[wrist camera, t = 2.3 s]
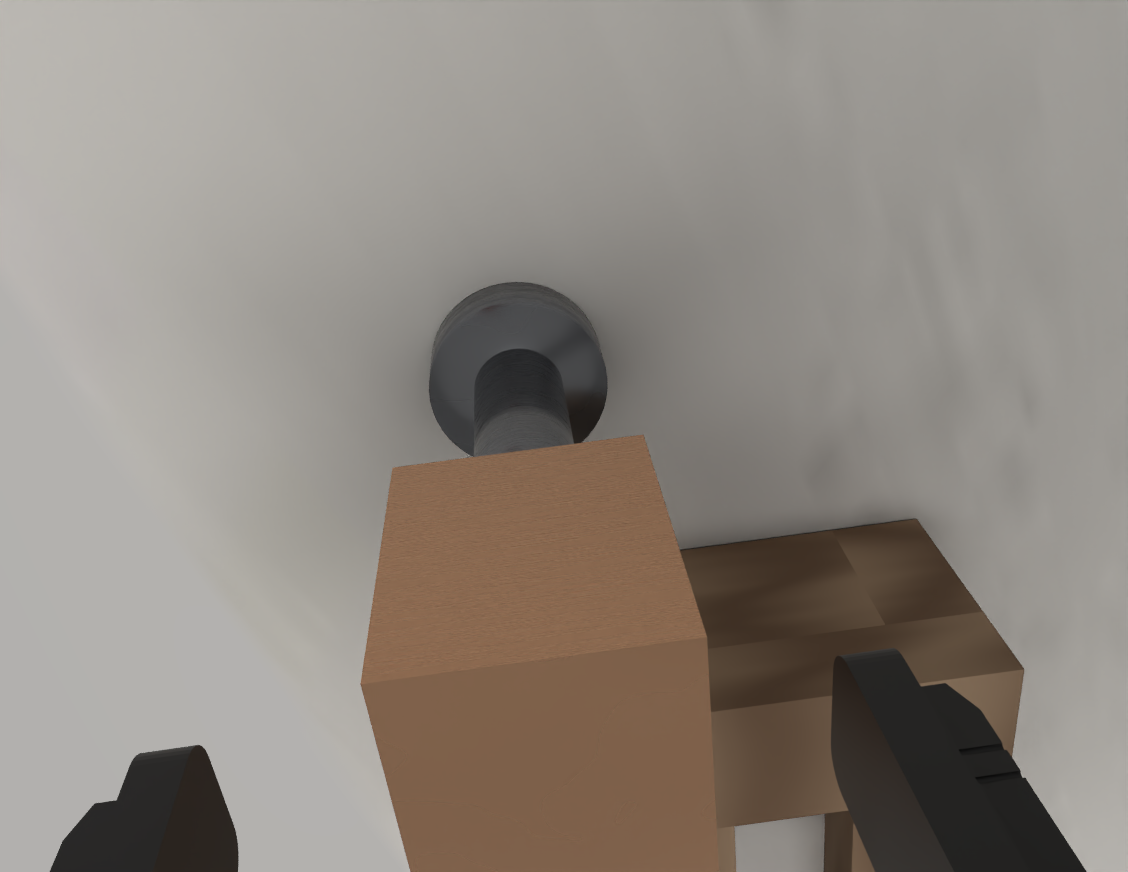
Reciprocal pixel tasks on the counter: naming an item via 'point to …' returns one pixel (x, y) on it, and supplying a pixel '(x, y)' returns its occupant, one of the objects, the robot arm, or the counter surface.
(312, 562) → the counter surface
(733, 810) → the keyhole block
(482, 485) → the brown square-topped part
